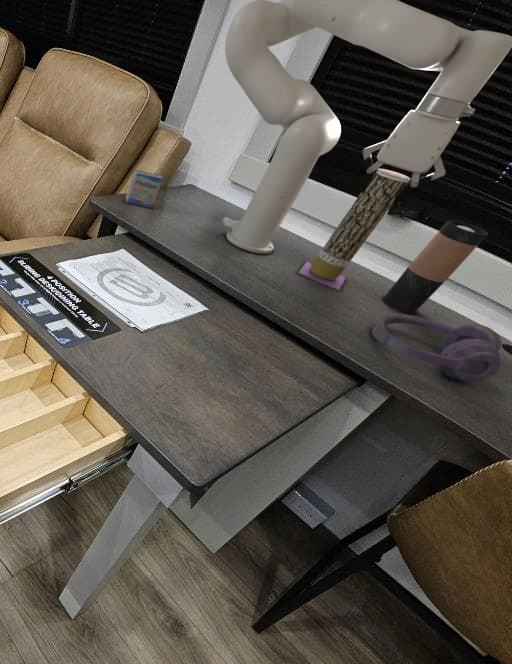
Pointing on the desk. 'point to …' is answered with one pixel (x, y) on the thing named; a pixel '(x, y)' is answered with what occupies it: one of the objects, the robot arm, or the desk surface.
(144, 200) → the medicine box
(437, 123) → the robot arm
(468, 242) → the travel mug
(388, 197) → the paper tube
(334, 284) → the mat
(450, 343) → the headphones
